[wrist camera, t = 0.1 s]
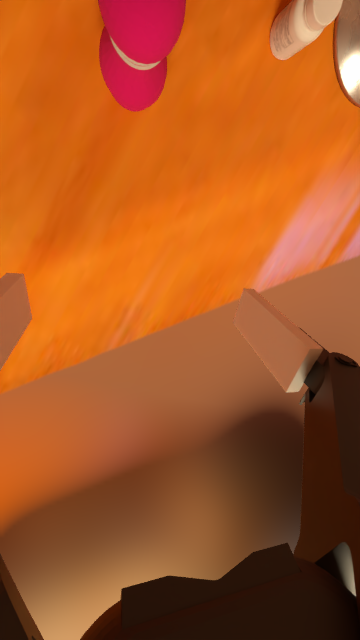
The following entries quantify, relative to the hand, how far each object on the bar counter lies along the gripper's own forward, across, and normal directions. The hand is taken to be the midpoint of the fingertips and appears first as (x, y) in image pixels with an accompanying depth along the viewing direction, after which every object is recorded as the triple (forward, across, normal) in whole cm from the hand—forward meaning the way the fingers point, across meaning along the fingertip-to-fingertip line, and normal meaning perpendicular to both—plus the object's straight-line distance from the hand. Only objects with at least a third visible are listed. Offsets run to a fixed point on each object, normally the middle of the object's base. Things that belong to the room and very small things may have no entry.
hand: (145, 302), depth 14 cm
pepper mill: (+28, 0, +17) cm, 33 cm away
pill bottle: (+28, +18, +25) cm, 42 cm away
